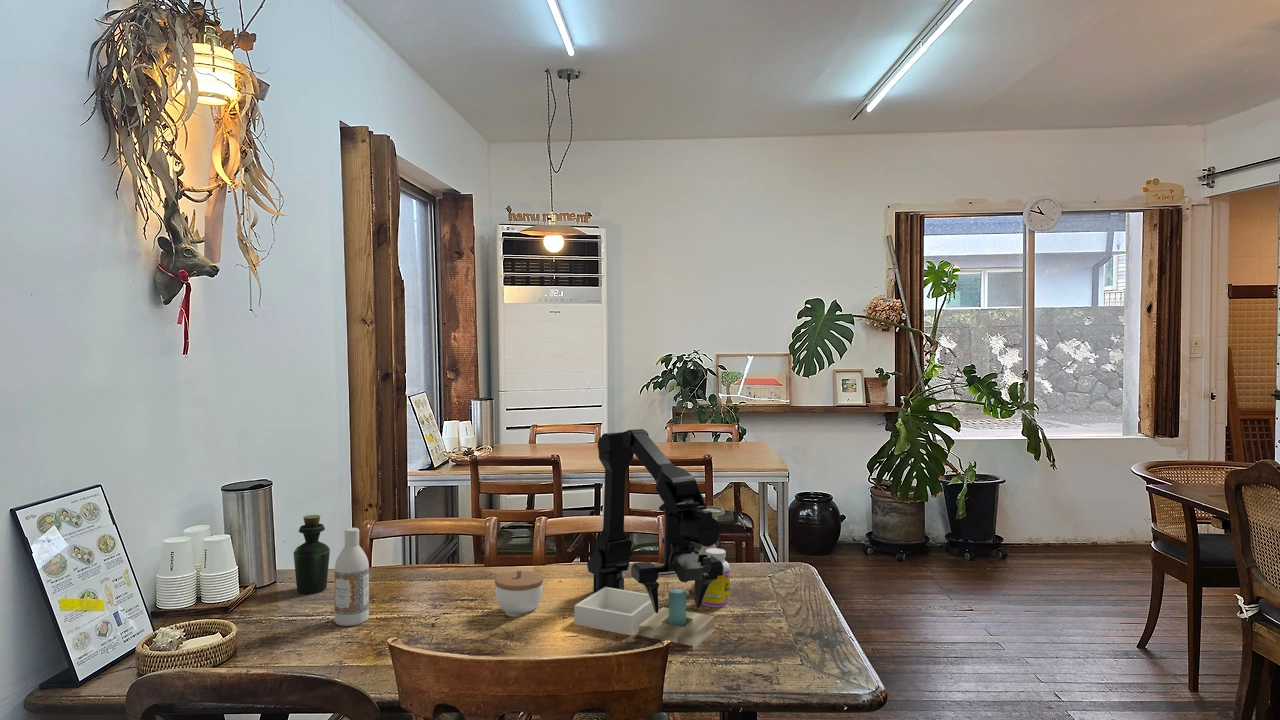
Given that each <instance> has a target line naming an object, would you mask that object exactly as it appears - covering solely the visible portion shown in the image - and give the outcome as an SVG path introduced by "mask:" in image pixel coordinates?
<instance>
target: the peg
mask: <svg viewBox="0 0 1280 720" xmlns="http://www.w3.org/2000/svg"><path fill="white" fill-rule="evenodd" d="M668 608H669V624H670V625H675V626H681V627H685V626H686V611H687V592H686V591H685V590H684V589H680V588H679V589H671V590H669V591H668Z"/></svg>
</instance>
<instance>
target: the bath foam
mask: <svg viewBox="0 0 1280 720" xmlns="http://www.w3.org/2000/svg"><path fill="white" fill-rule="evenodd" d="M369 564H370V563H369V559H368V557H367V555H366V553H365V551H364V550H363V548H362V547H361V546H360V529H359V528H358V527H349V528H345V529H344V547H343V548H342V550H341V551H340V553H339V554H338V556H337V558H336V561H335V565H334V584H333V585H334V587H333V588H334V602H333V603H334V608H333V609H334V623H335V624H336V625H338V626H341V627H353V626H357V625H362V624H363V623H365V622H367V621H368V620H369V618H370V613H369V612H370V565H369Z"/></svg>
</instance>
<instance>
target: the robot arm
mask: <svg viewBox="0 0 1280 720" xmlns="http://www.w3.org/2000/svg"><path fill="white" fill-rule="evenodd" d="M597 449H598V450H597V451H598V460H599V461H600V463H601V465H602V466H603V468H604V488H603V489H604V491H603V493H604V497H603V517H602V518H603V520H602V521H603V522H602V523H603V524H602V530H601V532H600V534H599V535H598V537H597V538H596V541H595V545H594V547H595V548H594V551H593V553H592V555H591V556H590V558H589V559H588V560H587V562H586V566H587V572H589V573H591V574H593V589H592V590H593V594H594V593H596V592H598V591H599V590H601V589H603V588H604V587H609V588H615V589H621V590H625V578H624V577H623V572H624V571H625V572H626V571H628V570H629V567H630V562H631V558H632V557H633V555H632V554H633V553H632V547H633V546H632V545H633V542H632V540H631V538H629V537H628V536H627V534H626V532H625V512H626V511H625V510H626V509H625V508H626V507H625V505H626V481H627V470H628V469H629V467H630V466H631V464H632V462H633V461H634V455H635V456H636V458H637V459H638V460H639V461H640V463H641V465H642V466H643V467H644V468H645V469H646V471H648V473H649V474H650V475H651V477H652V478H653V479H654V481H655V491H656V492H657V494H658V495H659V498H660V499H661V500H662V502H663V503H662V504H661V505H660V506H659V507H658V510H659V511H660V512H663V513H664V517H663V518H664V520H663V521H664V524H663V525H664V529H663V531H664V532H663V533H664V534H663V535H664V537H662V538H661V541H662V542H661V543H662V544H663V557H661V562H662V564H663V565H654V564H653V563H652V562H651V561H641V562H634V563H633V564H632V566H631V569H630V571H631V572H630V573H631V574H630V575H631V577H632V578H633V579H634V580H635V581H636V582H638V584H641V585H642V586H644V587H645V590H646V591H647V592H646V593H647V594H649V597H650V600H651V602H652V605H653V608H654V611H655V612H656V613H658V610H660V601H659V602H658V596H659V587H660V583H659V582H658V581H657V580H658V579H659V576H667V575H668V576H669V575H676V577H677V579H678V580H679V581H680V582H681V583H688V582H691V581H692V582H693V581H694V583H695V594H694V604H695V607H696V609H700V608H701V605H702V600H703V597H704V594H705V592H706V590H707V588H708V586H709V584H710V583H711V582H712V581H713V580H717V578H718V577H717V576H722V575H724V566H723V563H722V562H721V561H719V560H718V559H716V558H715V557H713V556H710V555H709V554H699V553H698V554H697V553H696V549H695V544H697V545H700V546H701V547H702V546H705V547H710V546H712V545H714V544H715V545H716V543H717V541H719V538H720V536H721V527H720V524H719V522H718V520H715V519H714V518H712V512H711V511H705V510H704V509H706V508H707V507H706V506H707V504H706V503H705V501H706V500H705V498H704V496H703V495H702V493H701V489H700V488H699V485H698V483H697V480H696V478H695V477H694V476H693V475H692V474H691V473H690V472H688V471H687V470H686V469H684V468H681V467H679V466H676V465H675V464H673V463H672V462H671V461H670V460H669V458H668V457H667V456H666V455H665V454H664V452H662V451H661V449H660V447H659V446H658V445H656V443H655V442H654V441H653V440H652V439H651V437H650V436H649V433H648V431H647V430H645V429H642V428H638V429H628V430H625V431H622V432H621V431H620V432H609V433H608V432H606V433H603V434H602V435H601V436H600V437H599V439H598V442H597Z"/></svg>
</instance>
